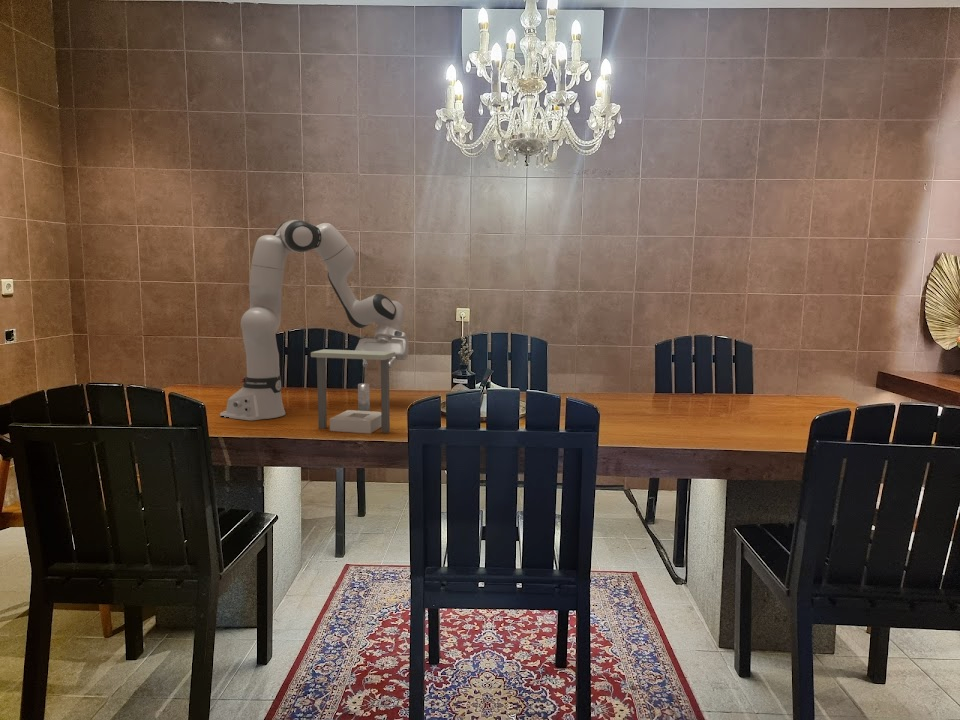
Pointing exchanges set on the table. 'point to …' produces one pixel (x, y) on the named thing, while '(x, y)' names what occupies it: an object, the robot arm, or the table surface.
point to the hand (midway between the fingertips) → (376, 366)
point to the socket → (356, 421)
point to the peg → (363, 397)
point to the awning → (353, 355)
